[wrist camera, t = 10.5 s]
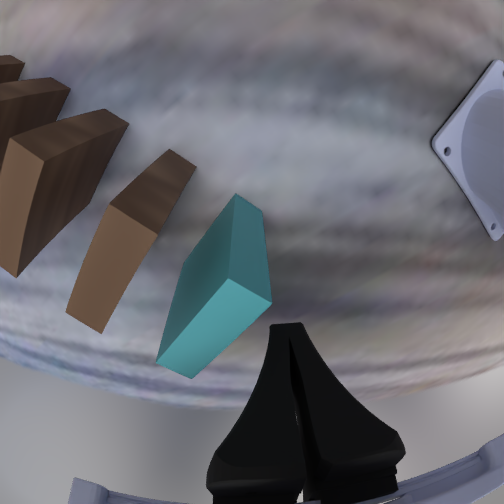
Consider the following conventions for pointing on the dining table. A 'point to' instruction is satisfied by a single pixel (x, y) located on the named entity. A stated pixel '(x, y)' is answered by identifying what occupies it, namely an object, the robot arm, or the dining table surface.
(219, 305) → the teal tile
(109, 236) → the walnut tile
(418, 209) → the dining table surface
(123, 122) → the walnut tile
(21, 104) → the walnut tile
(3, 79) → the walnut tile
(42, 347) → the dining table surface
